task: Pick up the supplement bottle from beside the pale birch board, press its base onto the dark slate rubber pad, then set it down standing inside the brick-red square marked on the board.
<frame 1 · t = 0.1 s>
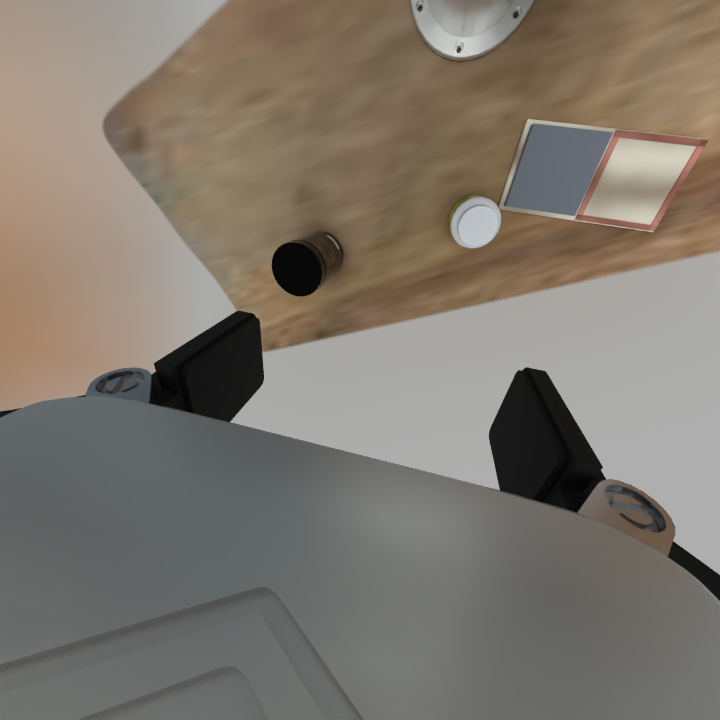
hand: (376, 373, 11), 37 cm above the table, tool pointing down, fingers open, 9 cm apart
ink pad: (551, 172, 35), resting on stamping board
supplement container: (323, 254, 46), on the table
stamping board: (589, 177, 35), on the table
supplement bottle: (469, 217, 40), on the table
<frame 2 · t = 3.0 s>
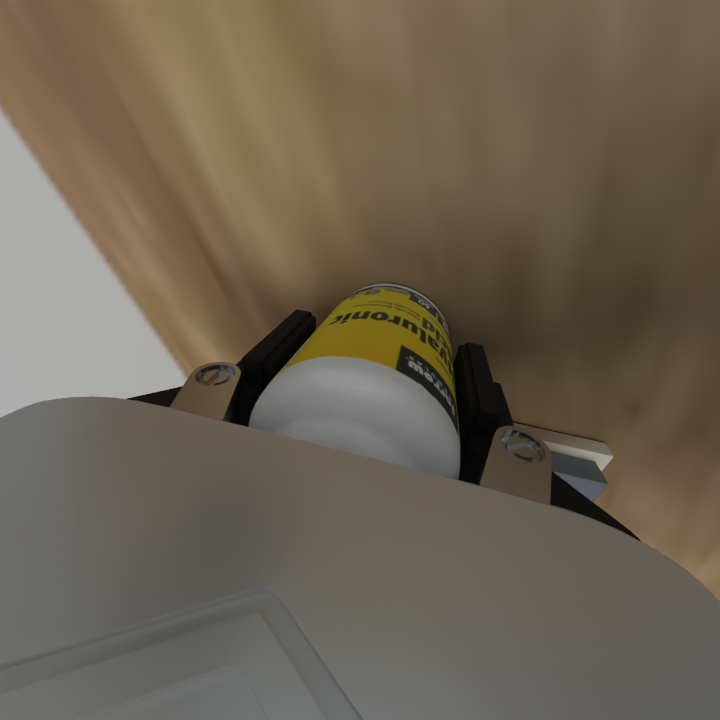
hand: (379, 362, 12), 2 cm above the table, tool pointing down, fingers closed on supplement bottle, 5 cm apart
ink pad: (474, 493, 16), resting on stamping board
stamping board: (451, 525, 19), on the table
supplement bottle: (388, 337, 13), on the table, touching gripper
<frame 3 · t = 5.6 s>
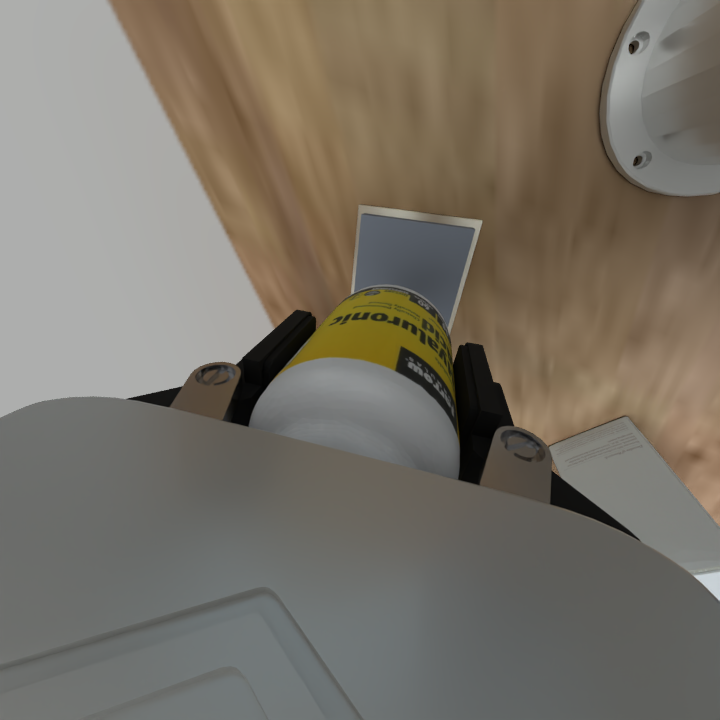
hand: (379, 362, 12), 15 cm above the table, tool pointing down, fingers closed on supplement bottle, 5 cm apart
ink pad: (407, 274, 24), resting on stamping board
supplement box: (601, 452, 29), on the table
stamping board: (399, 321, 27), on the table
supplement bottle: (387, 338, 13), point 13 cm above the table, touching gripper
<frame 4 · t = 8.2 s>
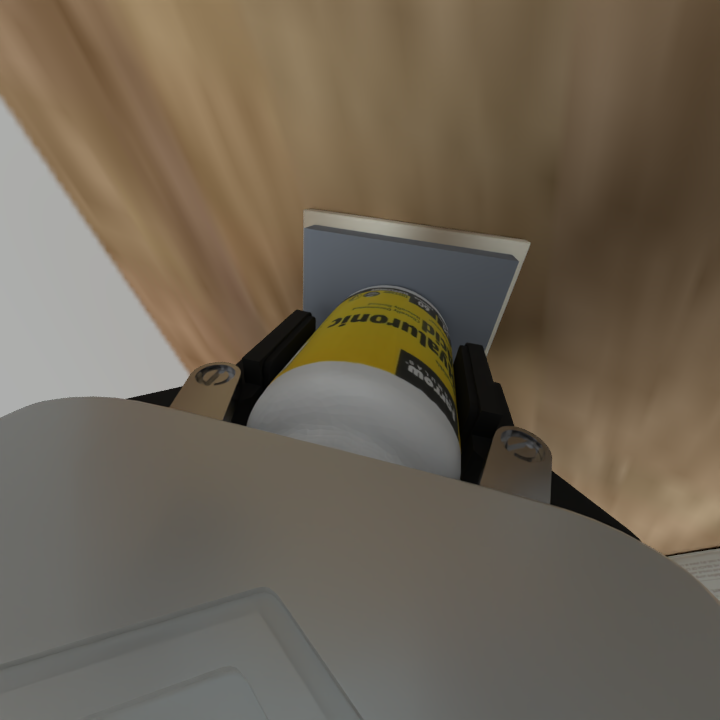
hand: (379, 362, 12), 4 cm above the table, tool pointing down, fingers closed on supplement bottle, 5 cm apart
ink pad: (392, 328, 14), resting on stamping board
supplement box: (684, 581, 20), on the table
stamping board: (381, 392, 17), on the table
supplement bottle: (387, 339, 13), point 2 cm above the table, touching gripper, ink pad
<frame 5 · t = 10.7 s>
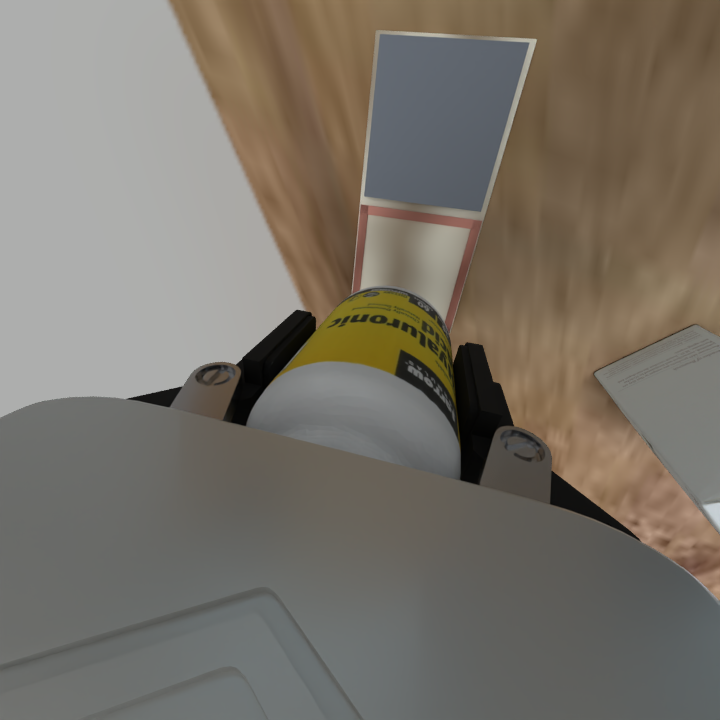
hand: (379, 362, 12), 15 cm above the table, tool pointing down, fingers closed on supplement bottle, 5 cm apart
ink pad: (434, 133, 19), resting on stamping board
supplement box: (658, 378, 25), on the table
stamping board: (420, 210, 22), on the table
supplement bottle: (387, 339, 13), point 13 cm above the table, touching gripper
when the fingers open (4 cm above the table, at t = 13.2 s): supplement bottle drops 1 cm, resting on stamping board.
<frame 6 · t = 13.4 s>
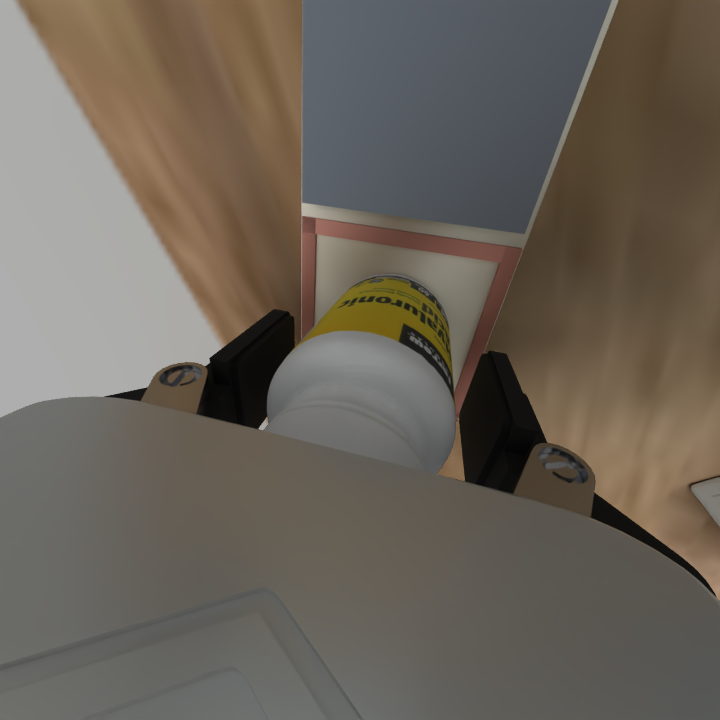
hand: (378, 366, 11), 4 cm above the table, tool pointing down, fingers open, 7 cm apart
ink pad: (434, 77, 9), resting on stamping board
stamping board: (409, 226, 13), on the table
supplement bottle: (390, 325, 14), point 1 cm above the table, touching stamping board
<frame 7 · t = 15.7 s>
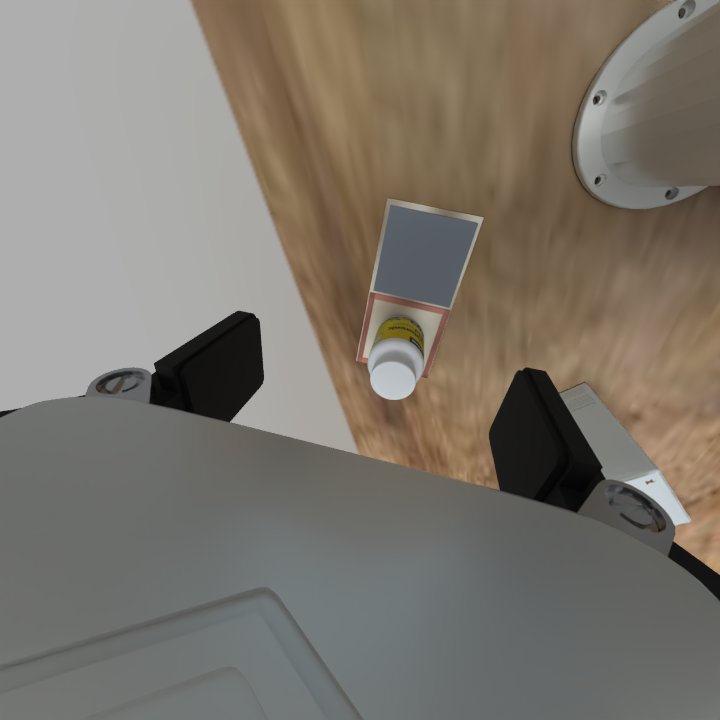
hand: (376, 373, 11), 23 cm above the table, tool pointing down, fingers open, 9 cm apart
ink pad: (421, 257, 30), resting on stamping board
supplement box: (565, 414, 36), on the table
stamping board: (410, 297, 33), on the table
supplement bottle: (400, 335, 34), point 1 cm above the table, touching stamping board
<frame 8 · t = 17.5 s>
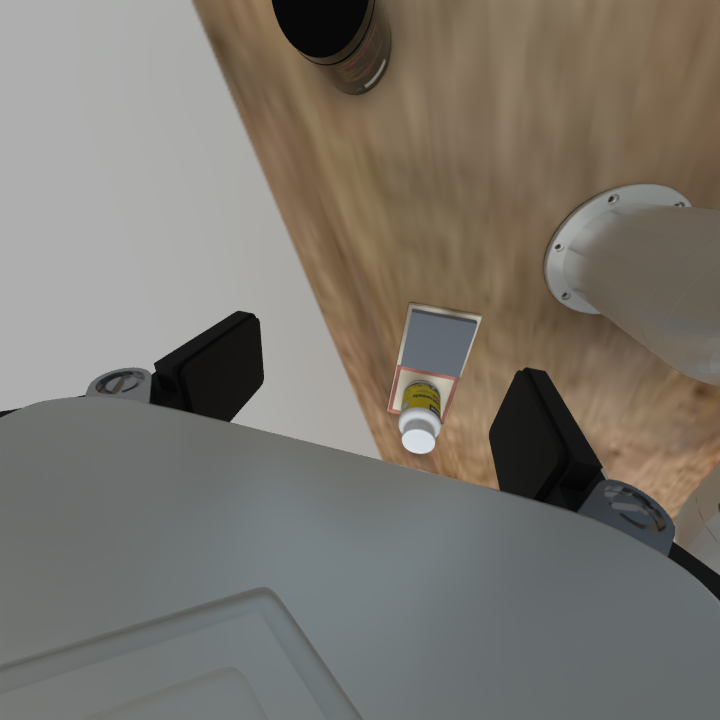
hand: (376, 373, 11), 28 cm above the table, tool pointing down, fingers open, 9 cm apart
ink pad: (436, 342, 39), resting on stamping board
supplement container: (356, 49, 28), on the table
stamping board: (428, 367, 42), on the table
supplement bottle: (421, 393, 44), point 1 cm above the table, touching stamping board
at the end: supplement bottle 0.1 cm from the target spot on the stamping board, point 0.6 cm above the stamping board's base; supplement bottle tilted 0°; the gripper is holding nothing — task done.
